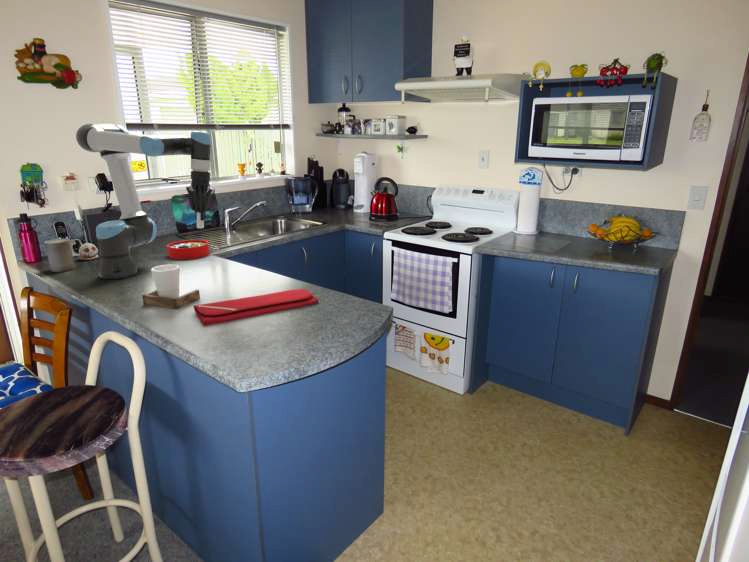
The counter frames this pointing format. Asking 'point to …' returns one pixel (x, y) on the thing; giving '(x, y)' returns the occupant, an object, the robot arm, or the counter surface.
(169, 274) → the foam cup
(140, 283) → the counter surface
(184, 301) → the brown bent bar
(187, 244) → the red round bowl
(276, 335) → the counter surface
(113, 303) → the counter surface
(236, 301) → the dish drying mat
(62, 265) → the grey tapered container
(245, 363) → the counter surface
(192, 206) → the robot arm
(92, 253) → the decorative ornament
